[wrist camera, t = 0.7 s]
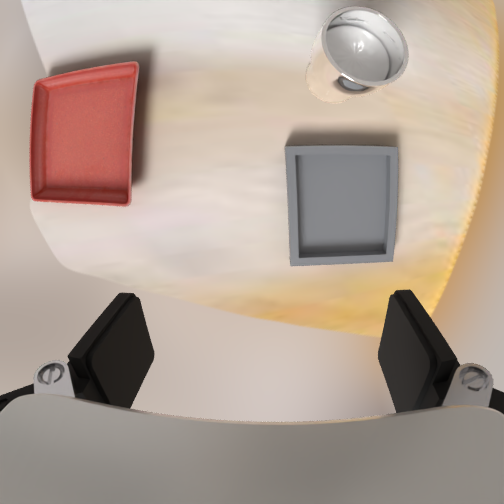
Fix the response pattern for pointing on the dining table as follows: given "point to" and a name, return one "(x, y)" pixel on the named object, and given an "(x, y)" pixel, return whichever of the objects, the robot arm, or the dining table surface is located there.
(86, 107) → the plant saucer
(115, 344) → the robot arm
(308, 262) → the serving tray
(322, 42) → the beer glass
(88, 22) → the dining table surface
